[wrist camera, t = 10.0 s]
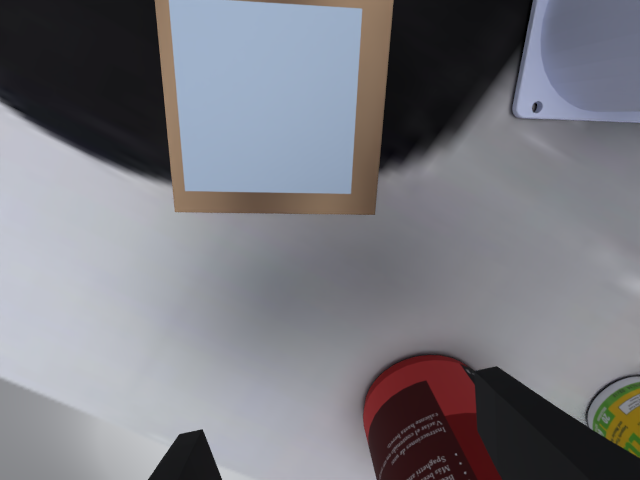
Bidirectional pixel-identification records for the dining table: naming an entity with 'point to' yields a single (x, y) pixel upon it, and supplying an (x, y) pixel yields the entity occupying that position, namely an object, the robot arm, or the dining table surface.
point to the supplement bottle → (618, 414)
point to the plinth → (366, 139)
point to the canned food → (426, 422)
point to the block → (266, 95)
